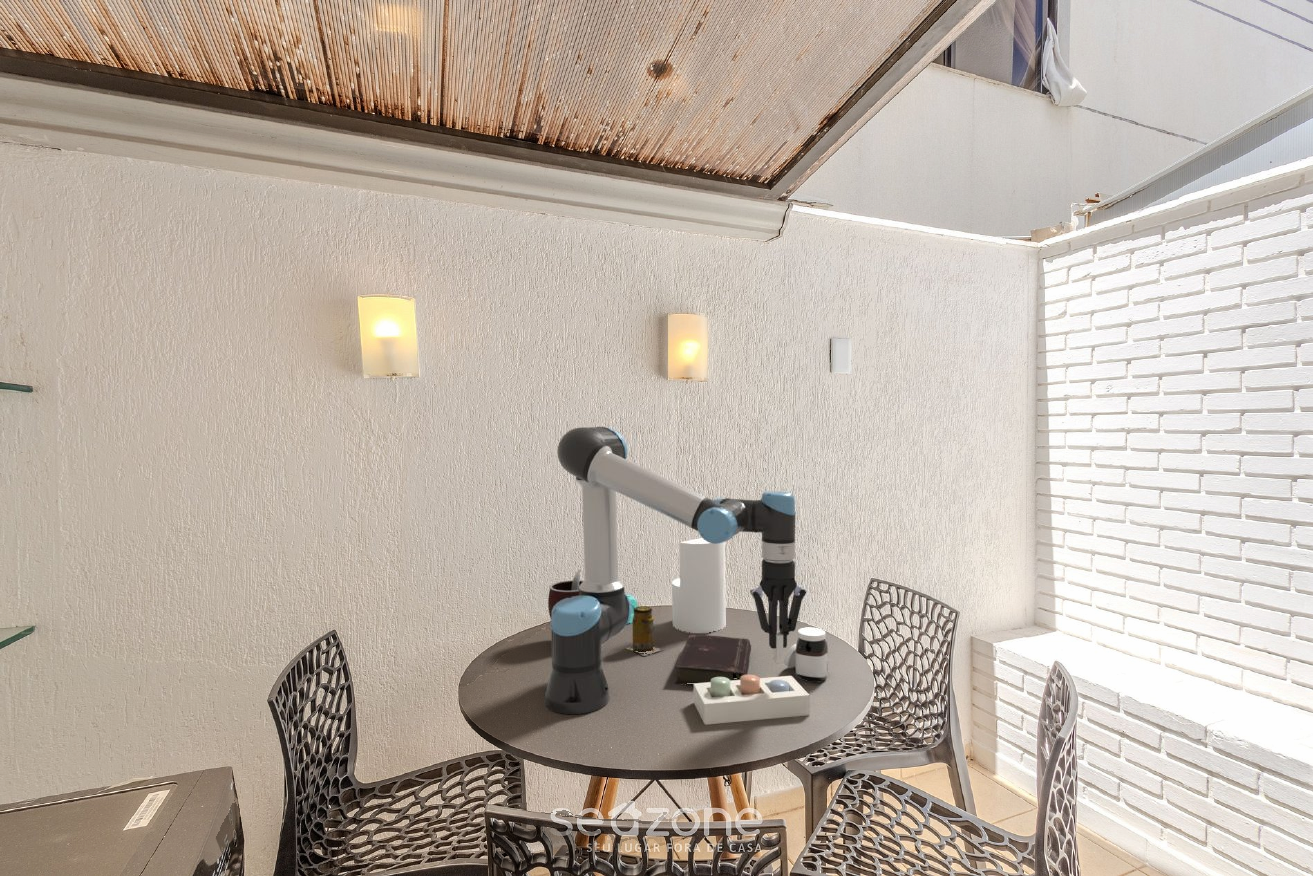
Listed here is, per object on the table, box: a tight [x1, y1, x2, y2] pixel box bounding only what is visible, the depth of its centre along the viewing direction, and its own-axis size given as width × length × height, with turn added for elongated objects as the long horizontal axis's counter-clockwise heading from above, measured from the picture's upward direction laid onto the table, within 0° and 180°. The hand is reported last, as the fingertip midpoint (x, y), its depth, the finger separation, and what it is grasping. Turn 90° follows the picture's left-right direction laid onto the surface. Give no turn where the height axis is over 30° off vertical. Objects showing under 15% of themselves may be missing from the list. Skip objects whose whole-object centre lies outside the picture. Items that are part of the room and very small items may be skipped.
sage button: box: [711, 677, 730, 698], centre depth 143 cm, size 4×4×3 cm
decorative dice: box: [626, 594, 639, 625], centre depth 210 cm, size 8×8×8 cm
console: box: [693, 675, 811, 725], centre depth 144 cm, size 24×11×4 cm, turn 99°
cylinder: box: [671, 537, 727, 634], centre depth 205 cm, size 17×17×28 cm
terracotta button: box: [740, 674, 761, 695], centre depth 144 cm, size 4×4×3 cm
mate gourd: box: [547, 569, 584, 619], centre depth 191 cm, size 16×14×20 cm
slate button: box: [770, 680, 789, 693], centre depth 145 cm, size 4×4×3 cm
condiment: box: [626, 605, 661, 657], centre depth 183 cm, size 7×8×12 cm
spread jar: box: [783, 626, 829, 683], centre depth 164 cm, size 12×11×12 cm
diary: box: [674, 634, 752, 686], centre depth 169 cm, size 19×25×5 cm
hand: (777, 661), depth 145 cm, fingers closed
